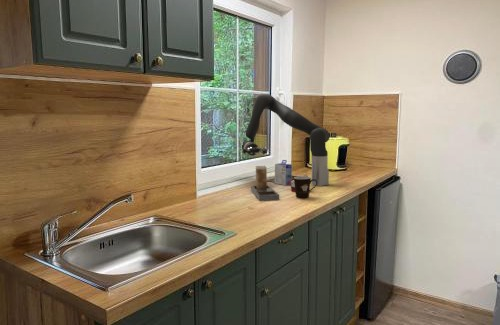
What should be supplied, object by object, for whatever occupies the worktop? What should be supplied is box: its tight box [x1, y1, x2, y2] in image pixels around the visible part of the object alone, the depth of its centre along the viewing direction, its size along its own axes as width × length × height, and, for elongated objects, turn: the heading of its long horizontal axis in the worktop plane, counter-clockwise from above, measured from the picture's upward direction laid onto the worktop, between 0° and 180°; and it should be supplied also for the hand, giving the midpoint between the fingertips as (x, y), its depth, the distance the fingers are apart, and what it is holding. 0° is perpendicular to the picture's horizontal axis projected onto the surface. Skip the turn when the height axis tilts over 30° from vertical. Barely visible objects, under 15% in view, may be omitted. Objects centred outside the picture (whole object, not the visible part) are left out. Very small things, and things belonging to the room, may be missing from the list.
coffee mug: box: [293, 175, 318, 200], centre depth 187 cm, size 12×9×10 cm
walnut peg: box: [255, 165, 268, 189], centre depth 202 cm, size 5×5×14 cm
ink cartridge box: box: [274, 159, 293, 186], centre depth 223 cm, size 10×6×14 cm, turn 39°
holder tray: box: [250, 184, 280, 202], centre depth 195 cm, size 10×26×2 cm, turn 9°
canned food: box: [290, 174, 309, 193], centre depth 203 cm, size 11×10×10 cm
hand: (257, 152), depth 212 cm, fingers open, 8 cm apart
